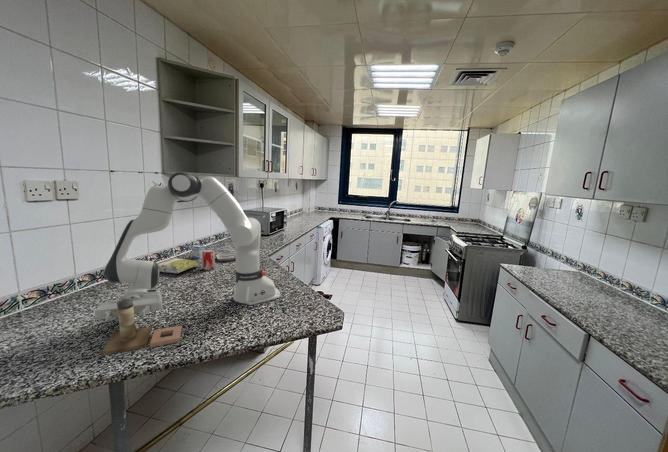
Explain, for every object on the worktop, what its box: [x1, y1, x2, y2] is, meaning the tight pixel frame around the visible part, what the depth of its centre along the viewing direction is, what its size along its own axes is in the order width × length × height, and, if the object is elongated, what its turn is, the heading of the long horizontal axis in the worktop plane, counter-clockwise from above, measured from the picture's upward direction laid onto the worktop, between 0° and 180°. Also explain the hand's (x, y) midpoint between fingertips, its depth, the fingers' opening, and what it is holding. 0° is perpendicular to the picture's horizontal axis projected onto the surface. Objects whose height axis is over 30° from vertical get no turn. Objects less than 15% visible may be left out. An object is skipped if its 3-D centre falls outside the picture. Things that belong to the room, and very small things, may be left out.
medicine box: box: [191, 244, 205, 260], centre depth 196 cm, size 8×4×9 cm, turn 68°
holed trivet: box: [149, 325, 183, 348], centre depth 102 cm, size 9×9×2 cm
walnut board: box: [101, 326, 153, 356], centre depth 99 cm, size 12×12×1 cm
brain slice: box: [215, 250, 236, 263], centre depth 198 cm, size 20×17×3 cm
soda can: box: [201, 248, 216, 271], centre depth 174 cm, size 7×7×12 cm
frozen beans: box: [156, 257, 203, 274], centre depth 171 cm, size 21×6×25 cm
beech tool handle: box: [117, 299, 137, 342], centre depth 98 cm, size 4×4×14 cm
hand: (125, 316), depth 96 cm, fingers open, 8 cm apart
